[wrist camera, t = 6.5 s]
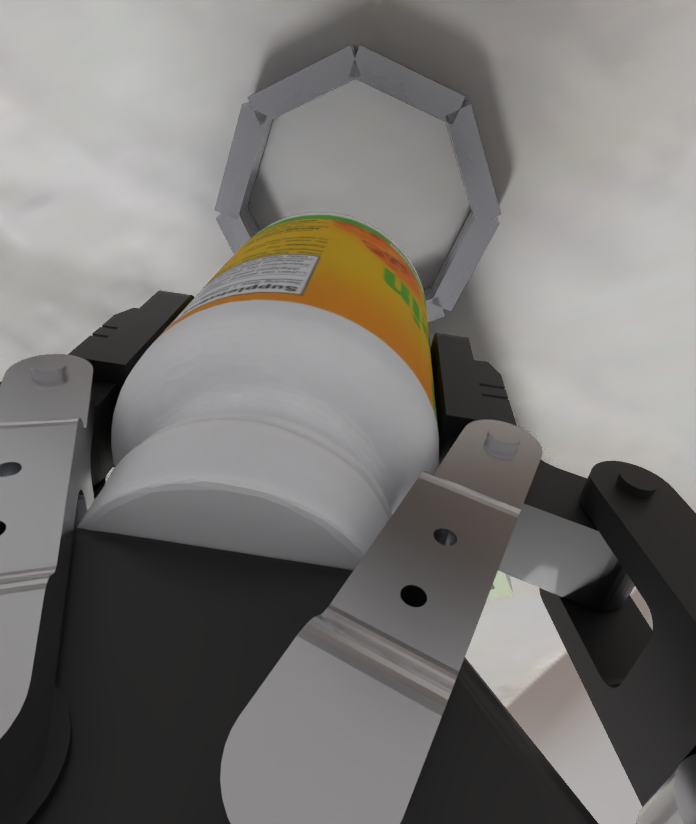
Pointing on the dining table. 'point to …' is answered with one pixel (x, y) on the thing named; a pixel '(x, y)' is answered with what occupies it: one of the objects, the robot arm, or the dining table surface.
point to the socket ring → (396, 84)
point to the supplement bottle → (281, 402)
